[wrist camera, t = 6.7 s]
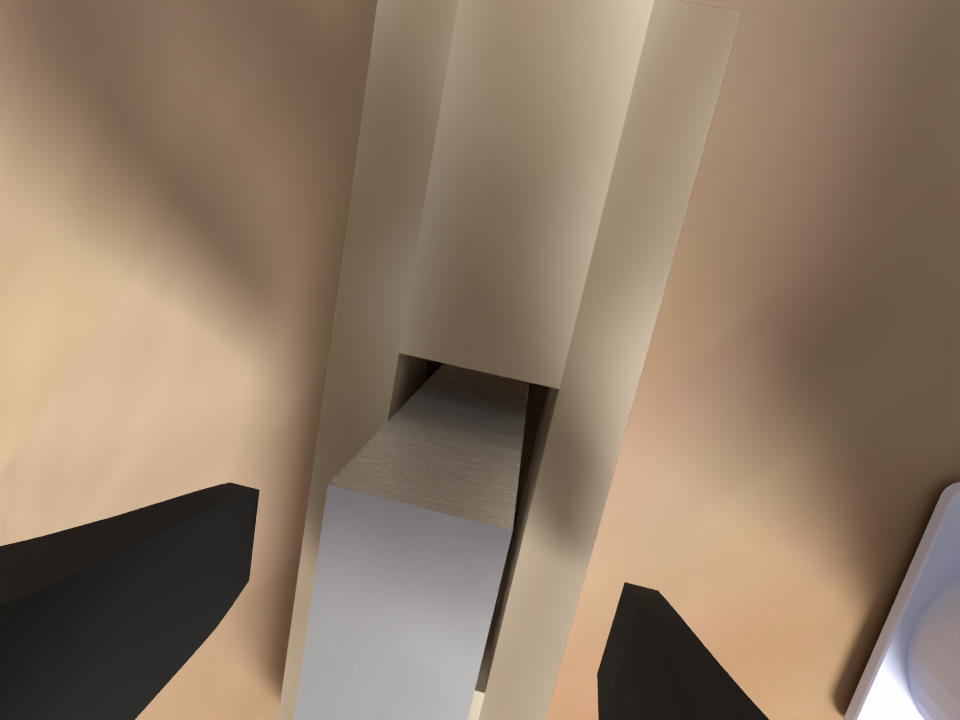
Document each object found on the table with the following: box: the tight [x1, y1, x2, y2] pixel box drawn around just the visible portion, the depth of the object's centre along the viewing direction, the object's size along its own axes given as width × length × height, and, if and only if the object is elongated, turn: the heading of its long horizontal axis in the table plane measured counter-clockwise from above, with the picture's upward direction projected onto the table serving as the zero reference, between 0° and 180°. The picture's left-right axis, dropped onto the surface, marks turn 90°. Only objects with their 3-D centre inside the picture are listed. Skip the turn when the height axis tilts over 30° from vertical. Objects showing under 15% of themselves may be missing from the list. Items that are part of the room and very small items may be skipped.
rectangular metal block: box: [293, 363, 530, 720], centre depth 11 cm, size 2×6×8 cm, turn 169°
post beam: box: [278, 0, 742, 720], centre depth 13 cm, size 6×22×4 cm, turn 169°
